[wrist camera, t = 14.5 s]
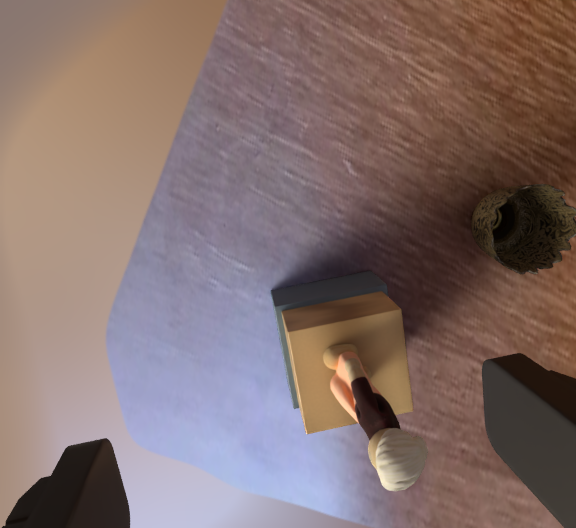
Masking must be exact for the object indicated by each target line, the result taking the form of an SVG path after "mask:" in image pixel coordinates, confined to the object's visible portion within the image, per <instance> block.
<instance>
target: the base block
mask: <svg viewBox="0 0 576 528" xmlns="http://www.w3.org/2000/svg"><path fill="white" fill-rule="evenodd" d="M379 291H382V292H383V293H385V294H386V295H387V296H388V290H387V284H386V283H385V282H383V281H382V280H381V279H380V278H379V277H378V276H376V275H375V274H374V273H373V272H372V271H367V272H362V273H357V274H351V275H346V276H341V277H336V278H331V279H326V280H321V281H316V282H311V283H306V284H301V285H296V286H291V287H286V288H281V289H276V290H271V291H270V292H271V297H272V302H273V308H274V313H275V318H276V324H277V329H278V334H279V339H280V345H281V350H282V355H283V360H284V366H285V371H286V376H287V381H288V386H289V390H290V395H291V399H292V403H293V408H294V409H296V408H300V407H299V404H298V398H297V393H296V388H295V382H294V377H293V372H292V366H291V361H290V355H289V350H288V345H287V339H286V334H285V329H284V323H283V318H282V311H285V310H290V309H295V308H300V307H305V306H310V305H315V304H320V303H325V302H330V301H335V300H340V299H345V298H350V297H355V296H360V295H365V294H370V293H374V292H379Z"/></svg>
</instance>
